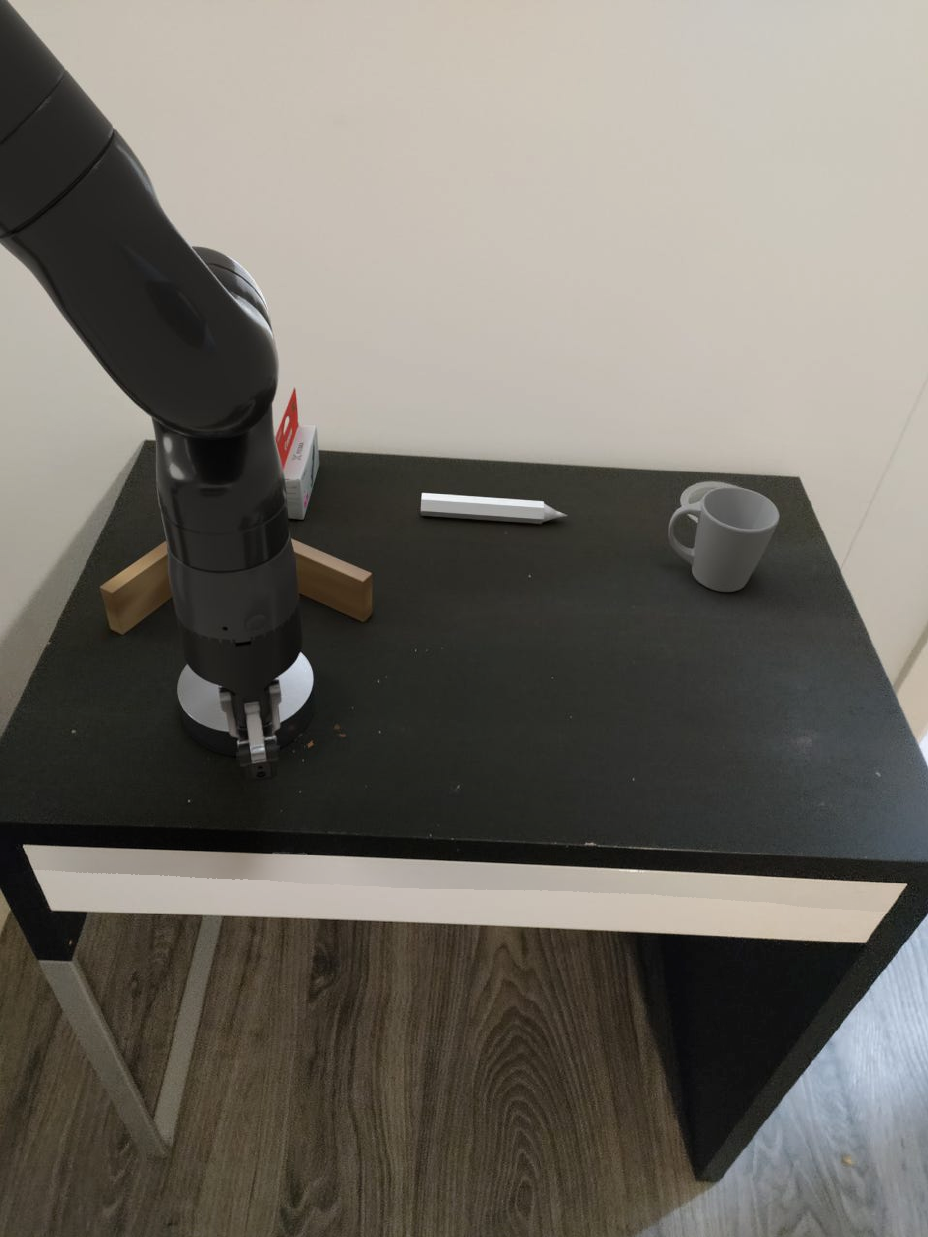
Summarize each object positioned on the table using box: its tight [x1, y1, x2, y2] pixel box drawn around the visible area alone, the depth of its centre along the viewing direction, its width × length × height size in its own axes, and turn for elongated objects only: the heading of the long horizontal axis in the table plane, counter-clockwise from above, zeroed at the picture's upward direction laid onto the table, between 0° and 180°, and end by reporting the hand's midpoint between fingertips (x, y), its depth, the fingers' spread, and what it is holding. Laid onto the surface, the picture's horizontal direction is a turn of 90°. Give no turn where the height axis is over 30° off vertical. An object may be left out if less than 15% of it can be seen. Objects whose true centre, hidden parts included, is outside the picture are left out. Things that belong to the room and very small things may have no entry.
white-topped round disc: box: [176, 651, 316, 757], centre depth 78 cm, size 11×11×3 cm
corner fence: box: [99, 538, 373, 636], centre depth 85 cm, size 15×18×5 cm
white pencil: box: [420, 492, 569, 525], centre depth 100 cm, size 3×2×16 cm
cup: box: [668, 486, 780, 593], centre depth 93 cm, size 8×10×8 cm
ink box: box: [275, 387, 320, 521], centre depth 99 cm, size 2×11×10 cm, turn 178°
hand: (261, 772), depth 69 cm, fingers closed
